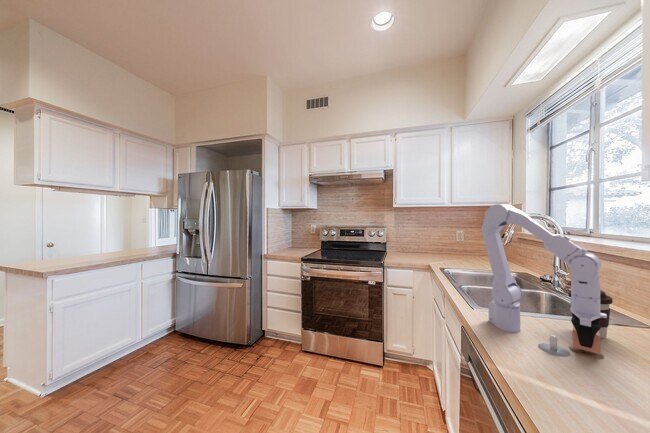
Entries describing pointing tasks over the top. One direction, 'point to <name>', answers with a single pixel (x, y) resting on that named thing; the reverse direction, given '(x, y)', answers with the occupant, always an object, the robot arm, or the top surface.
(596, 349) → the salmon square tube
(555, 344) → the stand
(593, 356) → the hub
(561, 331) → the top surface
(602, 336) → the coffee cup
